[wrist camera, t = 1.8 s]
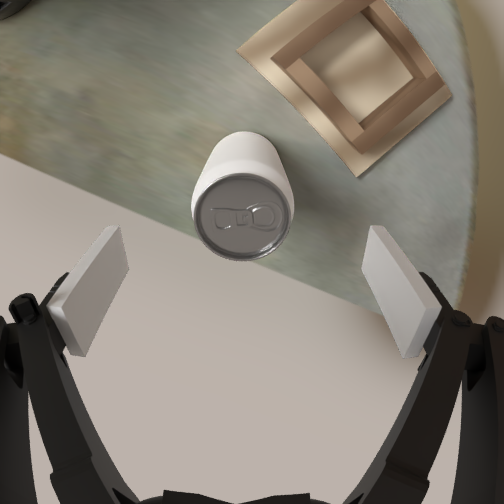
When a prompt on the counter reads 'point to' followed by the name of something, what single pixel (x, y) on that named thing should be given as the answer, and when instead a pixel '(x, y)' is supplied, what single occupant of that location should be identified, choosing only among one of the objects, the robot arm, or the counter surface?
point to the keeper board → (349, 74)
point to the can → (243, 199)
